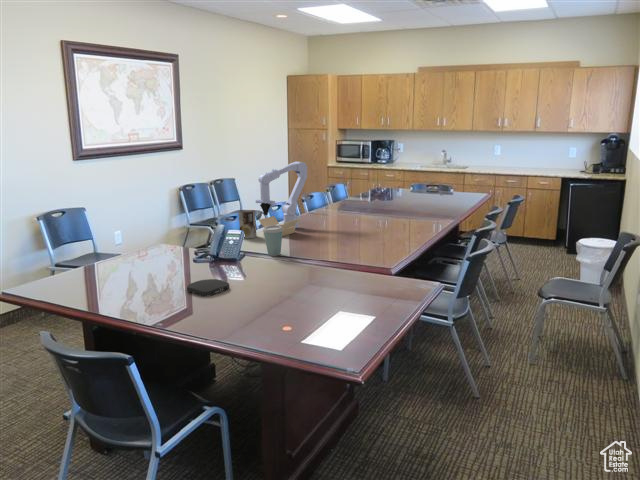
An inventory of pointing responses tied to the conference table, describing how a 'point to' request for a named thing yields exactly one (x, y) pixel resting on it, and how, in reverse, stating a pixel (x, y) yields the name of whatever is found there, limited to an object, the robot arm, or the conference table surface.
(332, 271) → the conference table surface
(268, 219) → the flap
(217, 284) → the media streaming box
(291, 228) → the carton
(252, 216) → the coffee box
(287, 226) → the flap
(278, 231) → the disposable coffee cup
